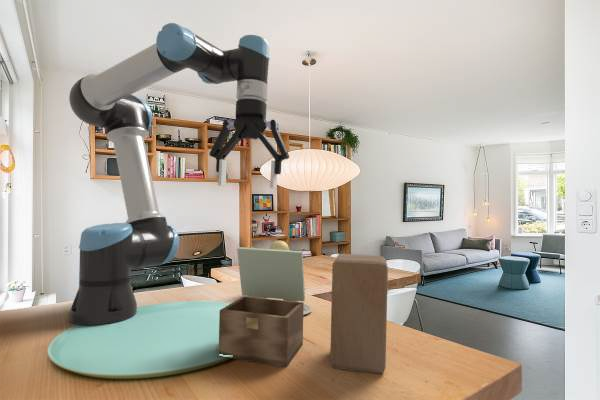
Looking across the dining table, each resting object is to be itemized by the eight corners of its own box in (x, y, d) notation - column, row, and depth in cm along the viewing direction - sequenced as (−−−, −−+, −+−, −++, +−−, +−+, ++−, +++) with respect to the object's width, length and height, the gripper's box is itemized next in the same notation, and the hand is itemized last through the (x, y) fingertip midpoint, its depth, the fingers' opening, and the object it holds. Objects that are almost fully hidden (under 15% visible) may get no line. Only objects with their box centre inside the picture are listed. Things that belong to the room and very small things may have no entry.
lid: (237, 248, 77) (252, 234, 85) (242, 295, 80) (256, 277, 88) (301, 252, 73) (311, 237, 81) (304, 301, 76) (313, 282, 84)
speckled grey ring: (260, 310, 101) (261, 294, 101) (295, 304, 109) (295, 288, 109) (284, 322, 92) (285, 304, 92) (320, 314, 99) (321, 297, 99)
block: (385, 376, 64) (388, 263, 64) (329, 369, 66) (332, 260, 66) (383, 353, 73) (386, 255, 73) (335, 348, 75) (337, 252, 75)
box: (217, 356, 70) (219, 310, 70) (242, 336, 80) (243, 296, 80) (286, 367, 66) (287, 318, 66) (302, 344, 77) (303, 302, 77)
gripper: (198, 98, 88) (194, 184, 88) (296, 95, 82) (291, 188, 82) (213, 106, 96) (208, 185, 96) (303, 104, 90) (299, 189, 90)
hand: (247, 186), depth 89 cm, fingers open, 13 cm apart
